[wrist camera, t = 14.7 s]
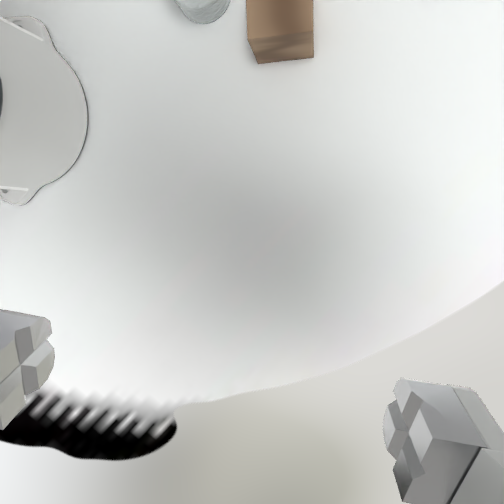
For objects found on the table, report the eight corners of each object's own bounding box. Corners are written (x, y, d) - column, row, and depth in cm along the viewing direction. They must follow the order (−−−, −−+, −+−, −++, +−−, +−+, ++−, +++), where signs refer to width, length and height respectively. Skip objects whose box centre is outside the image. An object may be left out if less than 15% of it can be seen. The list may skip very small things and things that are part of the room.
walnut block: (258, 64, 32) (247, 39, 27) (256, 5, 31) (245, -32, 26) (313, 57, 31) (312, 31, 26) (312, -4, 30) (311, -43, 25)
